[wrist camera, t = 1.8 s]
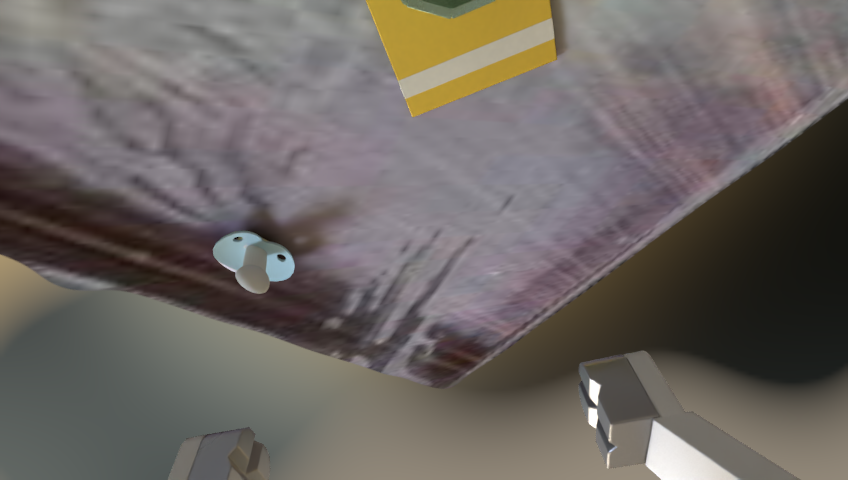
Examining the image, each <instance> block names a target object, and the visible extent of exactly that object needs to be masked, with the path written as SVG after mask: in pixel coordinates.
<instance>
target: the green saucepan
mask: <svg viewBox="0 0 848 480" xmlns="http://www.w3.org/2000/svg"><path fill="white" fill-rule="evenodd" d="M401 1H402V3H403V4H404V5H406V6H407V7H409V8H412V9H416V10H419V11H423V12H426V13H430V14H433V15H437V16H440V17H444V18H447V19H450V18H451V17H452V19H454V18H456V17H459V16H461V15H463V14H466V13H468V12H471V11H473V10H475V9H478V8H480V7H482V6H485V5H487V4H490V3H492V2H494V1H496V0H401Z"/></svg>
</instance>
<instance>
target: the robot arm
mask: <svg viewBox="0 0 848 480" xmlns="http://www.w3.org/2000/svg"><path fill="white" fill-rule="evenodd" d="M579 374H580V376H581V379H582V381H581V382H580V384H579V395H580V400H581V404H582V407H583V410H584V413H585V416H586V418H587V421H588V423H589V424H590V425H592V426H593V427H594V428H596V443H597V445H598V447H599V450H600V452H601V455H602V457H603V459H604V462H605V464H606V466H607V469H610V468H616V467H623V466H630V465H636V464H643V463H646V464H645V465H646V466H647V467H648V468H649V469H650V470H651V471H653V472H654V473H655V474H656V475H657V476H658V477H659V478H660V479H662V480H800V479H798V478H797V477H795V476H794V475H792V474H791V473H789V472H787V471H786V470H784V469H783V468H781V467H779V466H778V465H776V464H775V463H773V462H772V461H770V460H768V459H767V458H765V457H763V456H762V455H760V454H759V453H757V452H756V451H754V450H753V449H751V448H749V447H748V446H746V445H745V444H743V443H742V442H740V441H738V440H737V439H735V438H733V437H732V436H730V435H729V434H727V433H726V432H724V431H723V430H721V429H719V428H718V427H716V426H715V425H713V424H712V423H710V422H708V421H707V420H705V419H703V418H702V417H700V416H699V415H697V414H696V413H694V412H685V411H684V409H683V407H682V406H681V404H680V403H679V401H678V399H677V398H676V396H675V395H674V393H673V392H672V390H671V388H670V387H669V385H668V384H667V382H666V380H665V379H664V377H663V376H662V374H661V372H660V371H659V369H658V368H657V366H656V364H655V363H654V361H653V360H652V358H651V357H650V355H649V354H648V353H647V352H645V351H639V352H635V353H630V354H625V355H617V356H612V357H607V358H602V359H597V360H593V361H588V362H583V363H580V365H579ZM254 438H255V433H254V432H253V431H252V430H251V429H250V428H249V427H247V428H242V429H236V430H231V431H225V432H219V433H214V434H207V435H201V436H196V437H191V438H187V439H186V440H185V442H183V444H182V445H181V447H180V449H179V452H178V454H177V457H176V460H175V462H174V465H173V468H172V470H171V472H170V475H169V478H168V480H268V479H269V473H270V457H269V454H268V451H267V449H266V447H265V446H264V445H263V444H262V443H259V442H257V441H254Z"/></svg>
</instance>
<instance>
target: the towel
mask: <svg viewBox="0 0 848 480" xmlns="http://www.w3.org/2000/svg"><path fill="white" fill-rule="evenodd" d="M366 2H367V5H368V7H369V10H370V12H371V15H372V17H373V20H374V22H375V25H376V27H377V30H378V32H379V35H380V37H381V40H382V42H383V45H384V47H385V50H386V52H387V55H388V57H389V60H390V62H391V65H392V67H393V70H394V72H395V75H396V77H397V80H398V83H399V85H400V88H401V90H402V93H403V95H404V98H405V100H406V102H407V105H408V107H409V110H410V112H411V115H412V117H415V116H417V115H420V114H422V113H425V112H427V111H430V110H432V109H435V108H437V107H440V106H442V105H445V104H447V103H450V102H452V101H455V100H457V99H460V98H462V97H465V96H467V95H470V94H472V93H475V92H477V91H480V90H482V89H485V88H487V87H490V86H492V85H495V84H497V83H500V82H502V81H505V80H507V79H510V78H512V77H515V76H517V75H520V74H522V73H525V72H527V71H530V70H532V69H535V68H537V67H540V66H542V65H544V64H547V63H549V62H552V61H554V60H557V55H556V47H555V35H554V27H553V19H552V14H551V6H550V0H496V1H494V2H492V3H490V4H487V5H485V6H482V7H480V8H478V9H475V10H473V11H471V12H468V13H466V14H463V15H461V16H459V17H456V18H454V19H452V17H451V18H450V19H447V18H444V17H440V16H437V15H433V14H430V13H426V12H423V11H419V10H416V9H412V8H409V7H407V6H406V5H404V4H403V3H402V1H401V0H366Z"/></svg>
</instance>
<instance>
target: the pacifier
mask: <svg viewBox="0 0 848 480" xmlns="http://www.w3.org/2000/svg"><path fill="white" fill-rule="evenodd" d="M235 237H239V238H238V239H237V240H235V239H234V238H235ZM278 254H282V255H284V256H285V258H286V259H285V260H282V259H280V258H278V256H277V255H278ZM213 255H214V257H215V258H216V259H217V261H218V262H220V263H221V264H222V265H223V266H225V267H226V268H228V269H230V270H232V271H234V272H236V279H237V281H238V282H239V284H240V285H241V286H243V287H244V288H245V289H247V290H248V291H251V292H253V293H258V294H261V293H265V292H266V291H267V290H268V288H269V284H270V281H281V280H285V279H287V278H289V277H290V276H291V275H292V274H293V272H294V259H293V256H292V255H291V253H290V252H289V251H288V250H287V249H286V248H285V247H283V246H282V245H280V244H278V243H274V242H269V241H267V240H266V239H264V238H261V237H260V236H259V235H258V234H256V233H254V232H250V231H237V232H233V233H230V234H228V235H226V236H224V237H222V238H221V239H220V240H219V241H218V242H217V243H216V244H215V246H214V248H213Z"/></svg>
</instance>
